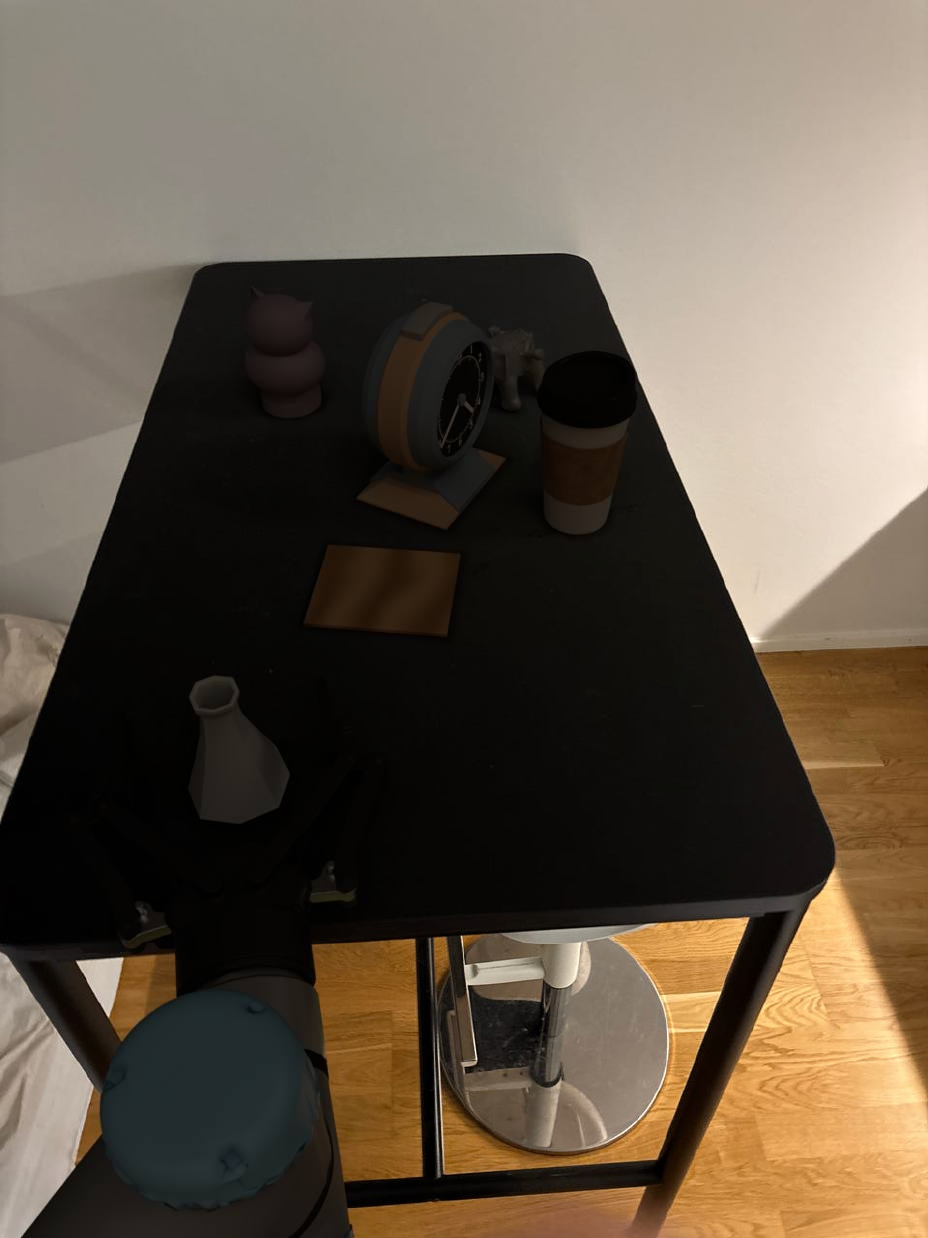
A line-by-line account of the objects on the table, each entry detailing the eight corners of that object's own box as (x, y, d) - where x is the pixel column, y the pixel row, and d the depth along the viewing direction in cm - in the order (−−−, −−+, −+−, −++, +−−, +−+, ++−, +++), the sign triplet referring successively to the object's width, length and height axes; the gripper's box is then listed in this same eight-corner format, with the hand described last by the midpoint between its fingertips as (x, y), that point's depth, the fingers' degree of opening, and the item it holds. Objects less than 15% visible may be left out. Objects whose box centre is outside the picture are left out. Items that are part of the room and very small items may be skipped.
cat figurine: (236, 409, 104) (215, 304, 96) (279, 374, 109) (263, 271, 101) (303, 430, 102) (287, 324, 93) (344, 393, 106) (333, 289, 98)
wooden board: (303, 626, 82) (303, 622, 81) (328, 547, 89) (328, 544, 88) (446, 637, 81) (446, 634, 80) (460, 556, 88) (460, 553, 87)
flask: (288, 737, 73) (268, 645, 66) (293, 818, 68) (272, 729, 61) (189, 750, 73) (159, 659, 65) (187, 834, 68) (153, 745, 60)
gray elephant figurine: (557, 384, 107) (561, 320, 102) (515, 443, 100) (517, 376, 94) (479, 366, 110) (480, 302, 105) (433, 422, 103) (430, 356, 97)
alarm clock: (440, 536, 90) (435, 364, 77) (350, 505, 93) (331, 335, 80) (510, 454, 98) (515, 288, 86) (425, 428, 102) (419, 264, 89)
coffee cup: (639, 521, 91) (662, 379, 80) (568, 556, 88) (581, 412, 77) (582, 476, 96) (596, 336, 85) (512, 507, 92) (517, 366, 82)
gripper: (31, 1081, 54) (52, 773, 69) (471, 978, 58) (403, 708, 72) (-18, 1025, 49) (17, 704, 63) (471, 916, 53) (398, 638, 67)
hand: (223, 706), depth 68 cm, fingers open, 13 cm apart
